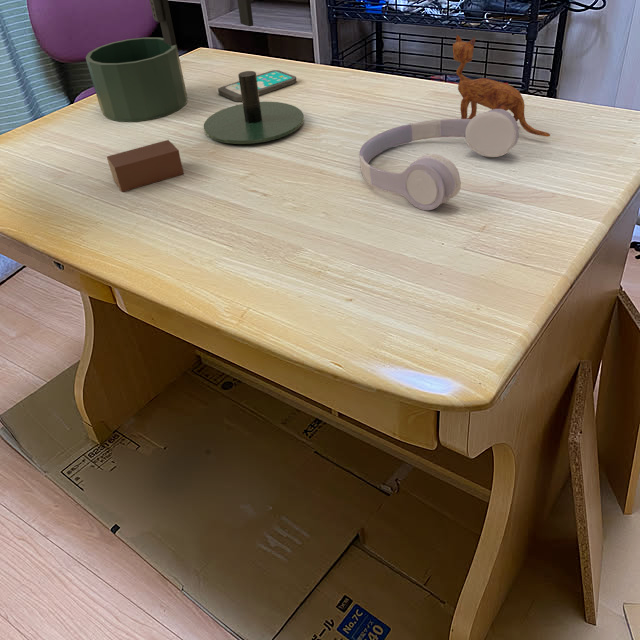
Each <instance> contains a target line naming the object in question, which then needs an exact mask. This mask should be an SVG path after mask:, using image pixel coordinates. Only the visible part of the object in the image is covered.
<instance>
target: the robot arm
mask: <svg viewBox="0 0 640 640" xmlns="http://www.w3.org/2000/svg"><path fill="white" fill-rule="evenodd" d="M253 1H254V0H237V7H238V13H239V21H240V25H243V26H247V27H253V26H254V20H253V12H252V4H251V2H253ZM149 4H150V10H151V13H152V18H153V20H154V21H155V22H158V23H159V24H160V30H161V33H162V38H163V39H164V43H167V44H169V45H171V46H174V45H177V39H176V35H175V31H174V25H173V20H172V19H173V18H172V15H171V10H170V5H169V0H149ZM177 46H178V45H177Z"/></svg>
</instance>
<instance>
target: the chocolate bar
mask: <svg viewBox="0 0 640 640" xmlns="http://www.w3.org/2000/svg"><path fill="white" fill-rule="evenodd" d="M106 160H107V163H108V166H109V169H110V172H111V176H112V179H113V181H114V183H115V184H116V186H117V187H118V189H119V191H121V192H122V193H123V192H126V191H130V190H134V189H137V188H141V187H144V186H147V185H150V184H154V183H157V182H161V181H165V180H168V179H171V178H175V177H178V176H182V175H184V169H183V165H182V164H183V163H182V159H181V155H180V150H179V149H178V148H177V147H176V146H175V145H174V144H173V142H172V141H170V140H169V139H166V140H163V141H158V142H156V143H155V142H154V143H152V144H147V145H143V146H141V147H137V148H132V149H130V150H125V151H122V152H118V153H114V154H110V155H107V156H106Z"/></svg>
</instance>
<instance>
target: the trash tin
mask: <svg viewBox="0 0 640 640" xmlns="http://www.w3.org/2000/svg"><path fill="white" fill-rule="evenodd" d="M85 61H86V64H87V68H88V71H89V75H90V78H91V82H92V85H93V88H94V90H95V94H96V98H97V101H98V102H97V103H98V105H99V108H100V111H101V112H102V115H103V116H104V117H105V118H106V119H108V120H110V121H115V122H121V123H133V122H134V123H135V122H137V123H138V122H146V121H150V120H151V121H152V120H156V119H160V118H163V117H166V116H169V115H172V114H173V113H176V112H178V111H179V110H181V109H182V108H184V107H185V106H186V104H187V102H188V94H187V88H186V83H185V78H184V75H183V74H184V73H183V70H182V65H181V59H180V55H179V50H178V45H174V46H171V45H169V44H167V43H164V39H163V37H136V38H128V39H124V40H119V41H113V42H110V43H106V44H104V45H103V44H102V45H101V46H97V47H96V48H94V49H92V50H90V51H89V52H88V53H87V54H86V56H85Z"/></svg>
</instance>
